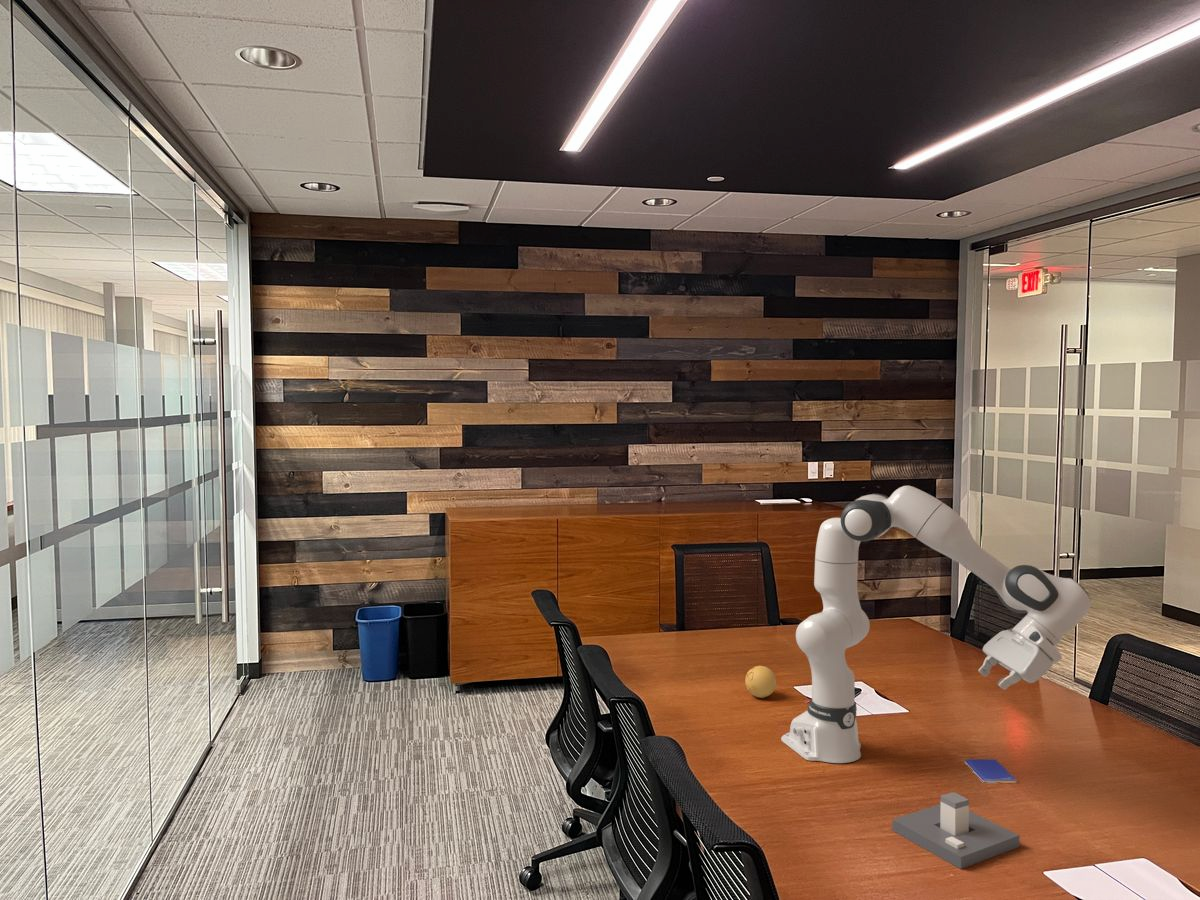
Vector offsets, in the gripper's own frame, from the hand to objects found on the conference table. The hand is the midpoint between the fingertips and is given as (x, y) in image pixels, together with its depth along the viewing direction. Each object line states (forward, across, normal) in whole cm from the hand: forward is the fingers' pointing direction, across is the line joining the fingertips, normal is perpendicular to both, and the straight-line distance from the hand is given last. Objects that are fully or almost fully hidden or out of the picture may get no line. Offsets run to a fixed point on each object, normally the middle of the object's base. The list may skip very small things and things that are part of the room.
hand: (990, 680), depth 199 cm
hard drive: (+16, -16, +27) cm, 35 cm away
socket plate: (+31, +16, +10) cm, 36 cm away
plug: (+31, +16, +10) cm, 37 cm away
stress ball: (+48, -75, -6) cm, 90 cm away
